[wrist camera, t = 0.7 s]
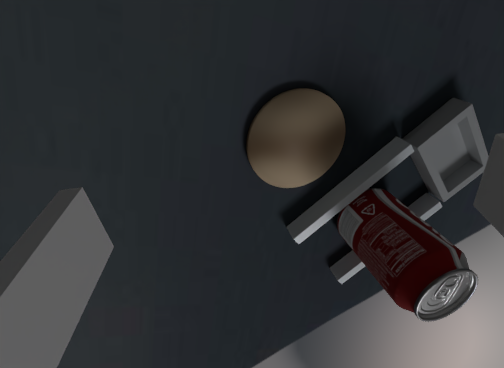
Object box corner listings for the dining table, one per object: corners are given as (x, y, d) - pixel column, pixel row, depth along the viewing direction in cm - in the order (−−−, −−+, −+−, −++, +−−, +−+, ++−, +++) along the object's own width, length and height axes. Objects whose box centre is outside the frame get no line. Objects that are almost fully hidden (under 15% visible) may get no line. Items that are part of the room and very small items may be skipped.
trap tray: (428, 191, 36) (443, 202, 34) (401, 139, 31) (417, 147, 29) (473, 157, 35) (491, 165, 33) (452, 97, 30) (472, 103, 29)
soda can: (323, 232, 35) (393, 327, 25) (350, 179, 32) (442, 261, 22) (370, 238, 37) (451, 326, 27) (399, 189, 35) (501, 267, 25)
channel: (333, 271, 38) (341, 284, 37) (286, 226, 33) (293, 239, 31) (428, 197, 37) (442, 206, 35) (396, 136, 31) (410, 144, 29)
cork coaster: (234, 108, 25) (236, 110, 24) (338, 73, 26) (341, 75, 25) (258, 197, 30) (260, 201, 29) (345, 165, 31) (348, 168, 30)
